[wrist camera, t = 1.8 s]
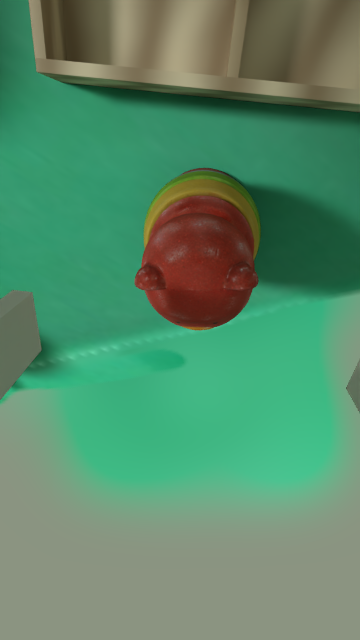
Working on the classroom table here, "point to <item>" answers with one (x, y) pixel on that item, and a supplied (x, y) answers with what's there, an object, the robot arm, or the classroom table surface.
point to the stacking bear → (200, 249)
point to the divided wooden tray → (206, 48)
